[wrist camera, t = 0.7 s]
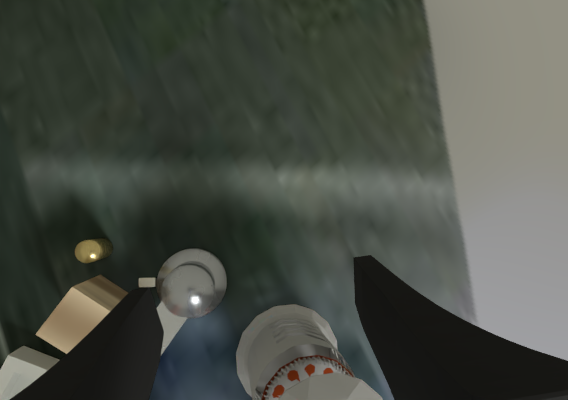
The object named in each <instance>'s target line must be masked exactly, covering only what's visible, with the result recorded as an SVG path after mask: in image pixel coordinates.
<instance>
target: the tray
mask: <svg viewBox="0 0 568 400" xmlns="http://www.w3.org/2000/svg"><path fill="white" fill-rule="evenodd" d="M58 361H59V359H57V358H54V357H51V356H49V355H46V354H44V353H41V352H39V351H36V350H34V349H31V348H29V347H26V346H22V347H20V348H19V349H17V350H16V351H14V352H12V353H11V354H9V355H8V356H7V358H6V360H5V362H4V364H3V366H2V368H1V369H0V400H10V399H11V398H12V397H14V396H15V395H16V394H18V393H19V392H21V391H22V390H23V389H25V388H26V387H27V386H29V385H30V384H31V383H33V382H34V381H35V380H36V379H38V378H39V377H40V376H41V375H43V374H44V373H45V372H46V371H48V370H49V369H50V368H51V367H52V366H54V365H55V364H56V363H57V362H58Z"/></svg>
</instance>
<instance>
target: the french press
mask: <svg viewBox="0 0 568 400" xmlns="http://www.w3.org/2000/svg"><path fill="white" fill-rule="evenodd" d="M339 355H340V356H341V358H342V361H343V364H342V362H341V359H340V356H339ZM236 361H237V375H238V377H239V379H240V381H241V383H242V385H243V387H244V389H245V391H246V393H248V394H249V395H250V396H251V397H252V400H254V399H255V400H383V399H382V397H381V396H380V395H379V394H378V393H376V392H375V391H374V390H373V389H372V388H371V387H369V386H368V385H367V384H366V383H365V382H364V381H363V380H361V379H358V378H355V376H354V373H353V371H352V370H351V368H350V367H349V365H348V364H347V362H346V361H345V359H344V358H343V356H342V355H341V354H340V353H339V352H338V351H337V340H336V338H335V336H334V334H333V332H332V330H331V328H330V326H329V324H328V322H327V321H326V320H324V319H323V318H322V317H321V316H320V315H319V314H317V313H316V312H315V311H314V310H312V309H309V308H306V307H302V306H299V305H296V304H291V305H281V306H274V307H272V308H270V309H269V310H267V311H265V312H263V313H261V314H259V315H258V316H256V317H255V318H254V320H253V321H252V322H251V323H250V324H249V326H248V327H247V328H246V329H245V330H244V332H243V333H242V336H241V339H240V342H239V345H238V348H237V351H236ZM345 363H346V364H347V367H348V370H347V368H346V365H345Z"/></svg>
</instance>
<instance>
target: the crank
mask: <svg viewBox="0 0 568 400" xmlns="http://www.w3.org/2000/svg"><path fill="white" fill-rule="evenodd" d="M214 289H215V278H214V275H213V273H212V271H211V270H210V269H209V268H208V267H207V266H206V265H205V264H203V263H201V262H197V261H188V262H184V263H182V264H180V265H178V266H177V267H176V268H175V269H174V270H173V271H171V272H170V273H169V274H168V275H167V277H166V278H165V280H164V282H163V284H162V288H161V297H162V302H161V303H160V304H159V306H158V307H157V308H156V309H157V312H158V315H159V318H160V321H161V324H162V327H163V330H164V336H163V344H162V350H161V355H162V353H163V352H164V350H165V349H166V348H167V346H168V345H169V343H170V342H171V340H172V339H173V338H174V336H175V335H176V333H177V332H178V331H179V329H180V328H181V326H182V325H183V323H184V322H185V321H186V319H187V318H188V317H193V316H196V315H199V314H200V313H202V312H203V311H205V310H206V309H207V308H208V306H209V305H210V303H211V301H212V299H213V295H214Z"/></svg>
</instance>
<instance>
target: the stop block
mask: <svg viewBox="0 0 568 400" xmlns="http://www.w3.org/2000/svg"><path fill="white" fill-rule="evenodd" d="M127 294H128V292H126V291H125V290H123V289H122V288H120V287H119V286H117V285H116V284H114V283H112V282H111V281H109V280H108V279H106V278H105V277H103V276H102V275H98V276H96V277H94V278H91V279H89V280H87V281H84V282H82V283H80V284H77V285H75V286H73V287H71V289H70V290H69V291H68V293H67V294H66V295H65V297H64V298H63V299H62V301H61V302H60V303H59V304H58V306H57V307H56V308H55V310H54V311H53V312H52V314H51V315H50V316H49V318H48V319H47V320H46V321H45V323H44V324H43V325H42V327H41V328H40V329H39V331H38V332H37V333H36V335H37V336H39V337H40V338H42V339H43V340H45V341H47V342H48V343H50V344H51V345H53V346H55V347H56V348H58V349H59V350H61V351H63V352H64V353H66V354H67V353H68V352H69V351H70V350H72V349H73V348H74V347H75V346H76V345H77V344H78V343H79V342H80V341H81V340H82V339H83V338H84V337H85V336H86V335H88V334H89V333H90V332H91V331H92V330H93V329H94V328H95V327H96V326H97V325H98V324H99V323H100V322H101V320H102V319H103V318H104V317H105V316H106V315H107V314H108V313H109V312H110V311H111V310H112V309H113V308H114V307H115V306H116V305H117V304H118V303H119V302H120V301H121V300H122V299H123V298H124V297H125V296H126V295H127Z"/></svg>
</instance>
